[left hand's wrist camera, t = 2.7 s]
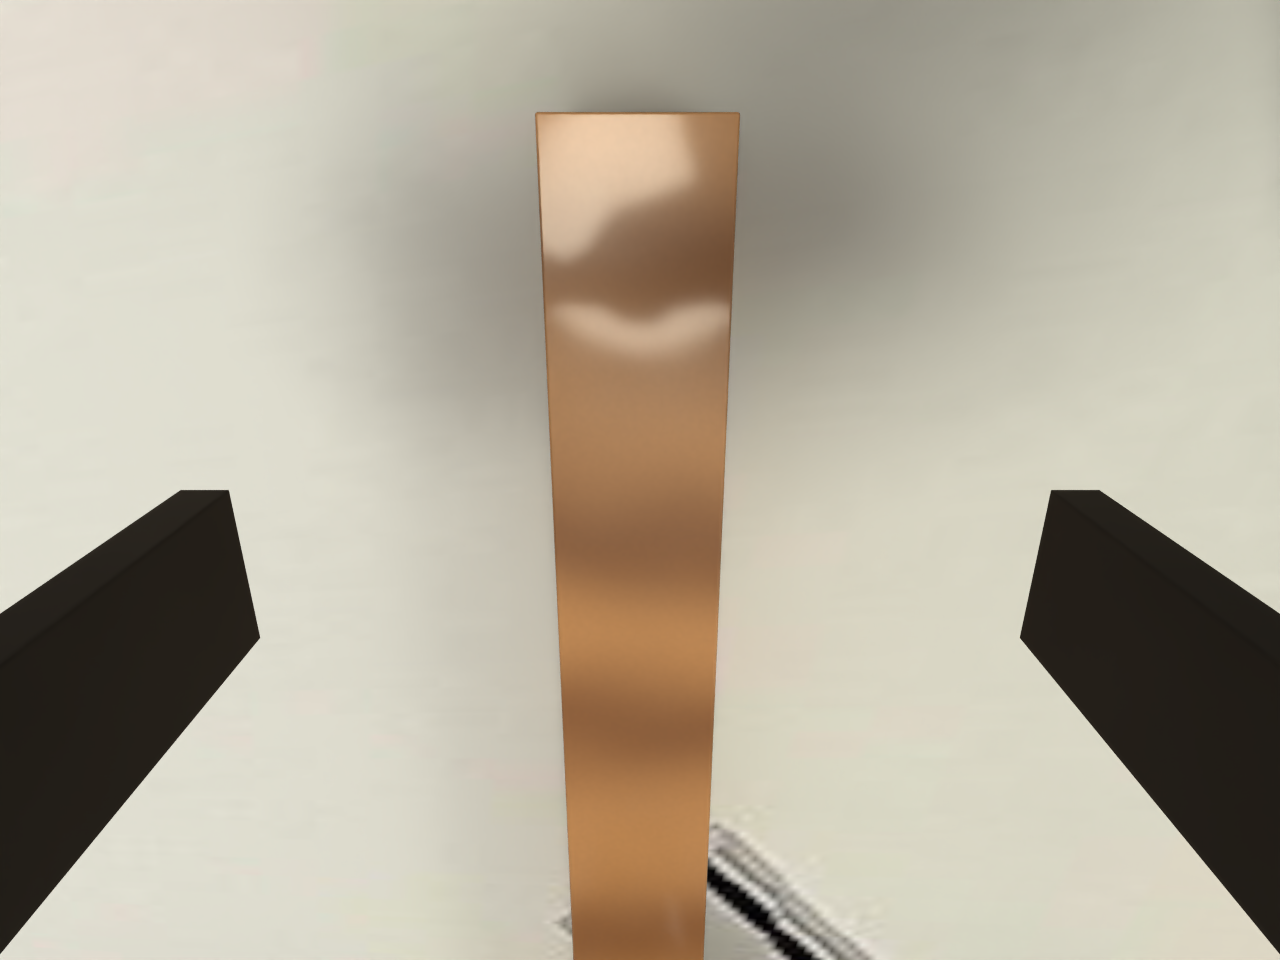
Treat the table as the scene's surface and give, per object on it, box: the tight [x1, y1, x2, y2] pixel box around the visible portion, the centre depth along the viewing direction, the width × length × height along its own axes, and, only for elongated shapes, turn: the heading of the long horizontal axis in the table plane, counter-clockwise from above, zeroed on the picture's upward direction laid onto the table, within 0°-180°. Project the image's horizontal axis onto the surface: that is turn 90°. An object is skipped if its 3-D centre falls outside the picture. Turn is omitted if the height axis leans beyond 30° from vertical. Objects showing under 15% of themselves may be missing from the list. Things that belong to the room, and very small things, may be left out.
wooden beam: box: [535, 112, 740, 960], centre depth 37 cm, size 64×6×8 cm, turn 0°
